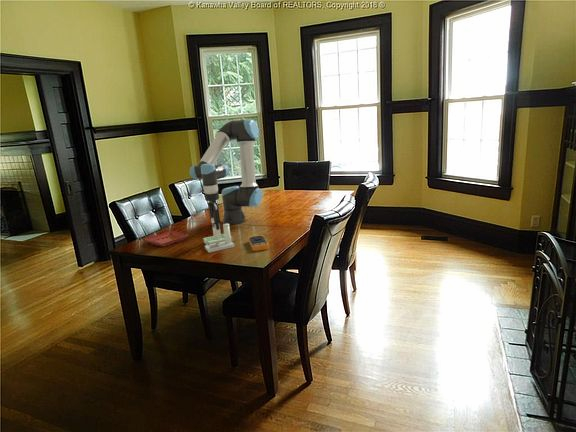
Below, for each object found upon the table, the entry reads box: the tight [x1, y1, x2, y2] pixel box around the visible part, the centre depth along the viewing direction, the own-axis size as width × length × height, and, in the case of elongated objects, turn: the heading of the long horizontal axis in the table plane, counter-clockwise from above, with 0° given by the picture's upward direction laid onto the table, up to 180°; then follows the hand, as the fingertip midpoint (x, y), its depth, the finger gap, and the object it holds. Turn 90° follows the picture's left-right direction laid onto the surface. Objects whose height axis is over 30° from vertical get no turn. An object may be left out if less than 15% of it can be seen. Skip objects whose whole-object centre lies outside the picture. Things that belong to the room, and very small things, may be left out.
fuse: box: [222, 223, 232, 244], centre depth 200 cm, size 3×3×12 cm
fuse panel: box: [204, 241, 235, 254], centre depth 200 cm, size 14×8×2 cm, turn 116°
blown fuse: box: [210, 217, 221, 240], centre depth 207 cm, size 4×4×12 cm
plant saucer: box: [145, 230, 189, 248], centre depth 219 cm, size 18×18×3 cm
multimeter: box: [247, 234, 270, 252], centre depth 198 cm, size 9×18×3 cm, turn 14°
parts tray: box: [202, 233, 234, 246], centre depth 209 cm, size 14×10×2 cm
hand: (217, 233), depth 208 cm, fingers closed on blown fuse, 4 cm apart
